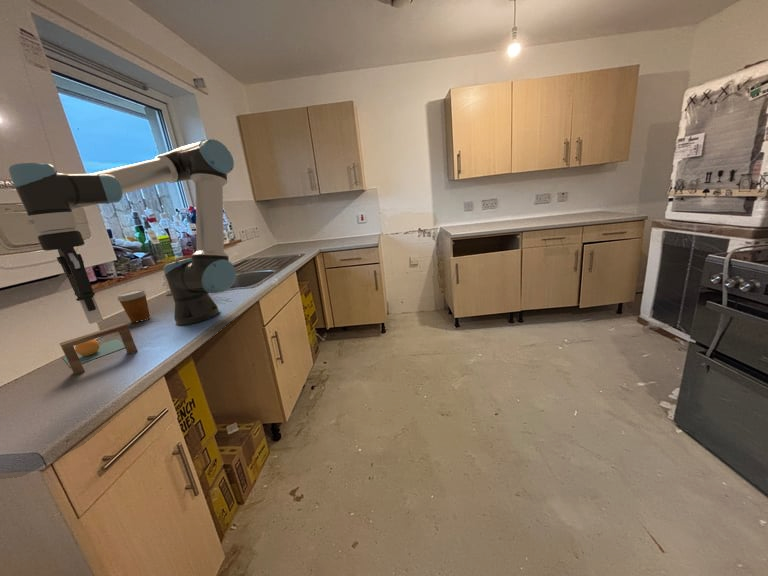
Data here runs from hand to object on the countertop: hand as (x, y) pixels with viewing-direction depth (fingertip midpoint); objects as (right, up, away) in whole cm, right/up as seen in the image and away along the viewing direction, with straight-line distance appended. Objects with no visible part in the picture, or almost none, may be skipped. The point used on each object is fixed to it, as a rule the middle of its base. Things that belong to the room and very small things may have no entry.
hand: (96, 321), depth 82 cm
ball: (-18, -10, +16) cm, 26 cm away
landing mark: (-17, -12, +19) cm, 28 cm away
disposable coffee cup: (-25, -5, +47) cm, 54 cm away
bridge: (-6, -13, +10) cm, 18 cm away
